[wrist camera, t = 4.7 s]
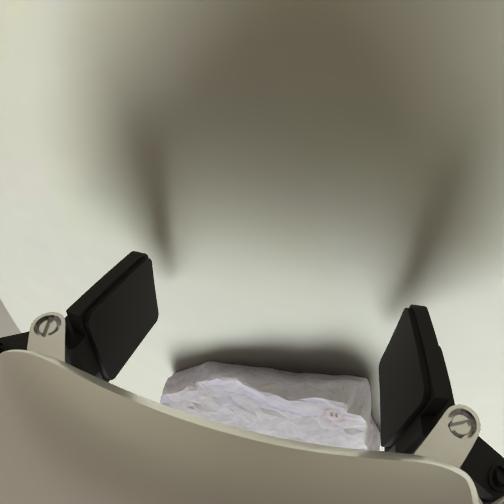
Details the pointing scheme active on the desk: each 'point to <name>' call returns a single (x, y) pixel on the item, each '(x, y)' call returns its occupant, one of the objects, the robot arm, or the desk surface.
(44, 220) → the desk surface
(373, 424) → the stone block
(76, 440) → the robot arm
